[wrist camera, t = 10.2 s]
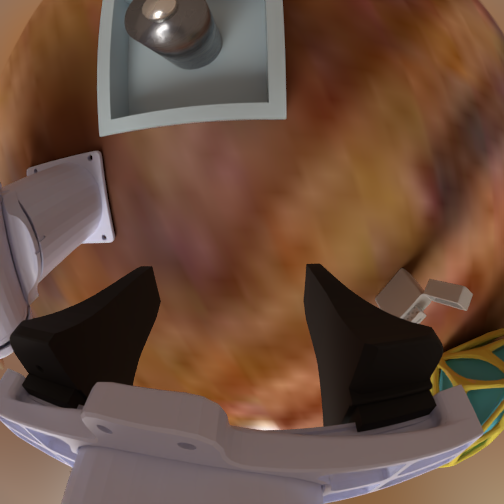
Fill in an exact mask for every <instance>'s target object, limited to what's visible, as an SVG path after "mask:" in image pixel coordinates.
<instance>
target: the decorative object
mask: <svg viewBox="0 0 504 504" xmlns="http://www.w3.org/2000/svg"><path fill="white" fill-rule="evenodd" d="M501 336H504V328H502V329H498V330H495V331H492V332H489V333H486V334H484V335H482V336H480V337H477V338H475V339H473V340H470V341H468V342H466V343H464V344H461V345H459V346H457V347H455V348H452V349H450V350H448V351H446V352H444V353H443V355H442V357H441V359H440V362H439V364H438V365H437V367H436V369H435V370H434V372H433V374H432V375H431V379H430V380H431V382H432V384H433V387H432V389H430V391H431V394H432V396H434V395H435V394H437V393H438V392H440V391H443V390H446V389H449V388H452V387H454V386H457V385H462V387H463V389H464V391H465V393H466V395H467V397H468V399H469V401H470V403H471V405H472V407H473V409H474V411H475V413H476V415H477V418H478V420H479V422H480V424H481V427H482V429H483V431H484V433H483V435H482V436H481V437H480V438H479V439H477V440H476V441H475V442H474V443H473V444H472V445H471V446H469V447H468V448H467V449H466V450H465V451H463V452H462V453H461V454H460V455H458V456H457V457H456V458H455V459H453V460H452V461H451V462H449V463H447V464H445V465H442V466H440V467H449V466H453V465H456V464H458V463H460V462H462V461H463V460H465V459H467V458H469V457H471V456H472V455H474V454H476V453H477V452H479V451H480V450H482V449H483V448H485V447H486V446H487V445H489V444H490V443H491V442H492V441H493V440H494V439H495V438H496V437H497V436H498V435H499V434H500V433H501V432H502V431H503V430H504V338H502V339H500V340H497V341H495V342H492V343H489V344H486V343H488V342H490V341H492V340H494V339H496V338H498V337H501ZM484 344H486V345H484ZM482 345H484V346H482ZM480 346H482V347H480ZM448 359H450V360H448ZM447 360H448V361H447ZM439 368H441V373H440V380H439ZM498 422H499V423H498ZM438 468H439V467H438Z"/></svg>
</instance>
